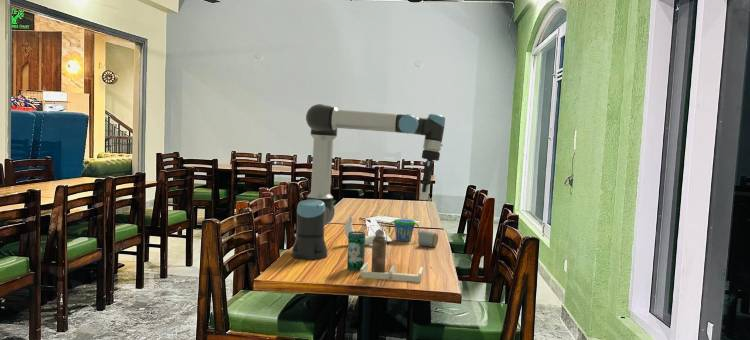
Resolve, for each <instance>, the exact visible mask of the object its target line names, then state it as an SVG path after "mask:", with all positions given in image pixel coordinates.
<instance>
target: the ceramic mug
mask: <svg viewBox="0 0 750 340" xmlns="http://www.w3.org/2000/svg"><path fill="white" fill-rule="evenodd" d="M417 238H418V239H417V242H418V243H417V244H418V246H420V247H426V248H427V247H428V248H435V247H437V245H438V242H439V234H438V233H436V232H434V231H429V230H426V229H420V232H419V235H417Z"/></svg>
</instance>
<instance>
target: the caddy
mask: <svg viewBox="0 0 750 340" xmlns="http://www.w3.org/2000/svg"><path fill="white" fill-rule="evenodd" d="M368 267H369V262H364V265H363V266H362V268H361V269H360V271H359V272H360V273H359V274H360V275H359V278H364V279H374V280H375V279H379V280H390V281H401V282H413V283H421V282H422V279H423V277H424V267H423V266H420V268H419V271H418V274H413V273H412V274H411V273H401V272H400V273H399V272H396V264H392V265H391V267H390V269H389V271H387V272H386V271H385V273H379V272H371V270H368V269H369V268H368Z"/></svg>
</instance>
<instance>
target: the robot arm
mask: <svg viewBox="0 0 750 340" xmlns="http://www.w3.org/2000/svg"><path fill="white" fill-rule="evenodd" d="M305 120H306V124H307V126H308V127H309V129H310V136H311V137H312V139H313V146H312V149H313V150H312V167H311V168H312V169H311V184H310V185H311V186H310V193H308V194H307V195H306V200H305V199H304V200H301V201H299V202H298V204H297V206H296V207H297V208H296V235H295V236H296V237H295V240H294V243H293V246H292V249H291V257H293V258H296V259H301V260H322V259H325V258H327V257H328V249H327V245H326V241H325V226H327V225H328V224H329V223H331V221H332V220H333V218H334V217H335V210H336V209H335V206H334V196H333V195H332V194H331V185H332V184H331V180H332V164H333V163H332V162H333V149H334V148H333V147H334V146H333V145H334V140H335V139H336V138H337V137H338V129H346V130H357V131H358V130H360V131H361V130H362V131H375V132H384V133H385V132H387V133H398V134H399V133H400V134H409V135H419V136H424V139H423V146H422V148H423V149H422V152H421V153H422V154H421V158H422V159H424V160H426V161H425V162H424V164H423V165H424V166H423V177H422V180H421V181H420V183H419V184H421V188H420V194H419V200H420V201H427V200H428V199H429V195H430V187H431V186H432V185H433V182H432V174H433V171H434V167H435V164H434V161H435V162H436V161H437V162H438V161H439V160H440V156H441V153H440V152H441V148H442V147H443V146H444V145H443V139H444V138H443V137H444V131H445V125H446V117H445V116H444V115H441V114H435V113H429V114H428V116H427V117H419V116H415V115H413V114H400V113H399V114H397V113H388V112H387V113H386V112H373V111H371V112H369V111H358V110H343V109H338V108H337V107H335V106H331V105H328V104H327V105H325V104H320V103H319V104H318V103H316V104H314V105H312V106H311V107H309V108H308V110H307V112H306V115H305Z"/></svg>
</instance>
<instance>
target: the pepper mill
mask: <svg viewBox="0 0 750 340" xmlns="http://www.w3.org/2000/svg"><path fill="white" fill-rule="evenodd" d="M374 233H375V234H374V235H376V236H374V239H373V242H372V244H371V245H372V247H371V268H370V269H371V270H370V271H371V272H379V273H385V272H386V254H387V252H386V251H387V240H386V237H385V232H384V231H383V229H377V230H376V231H375V232H374ZM383 236H384V237H383Z"/></svg>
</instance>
